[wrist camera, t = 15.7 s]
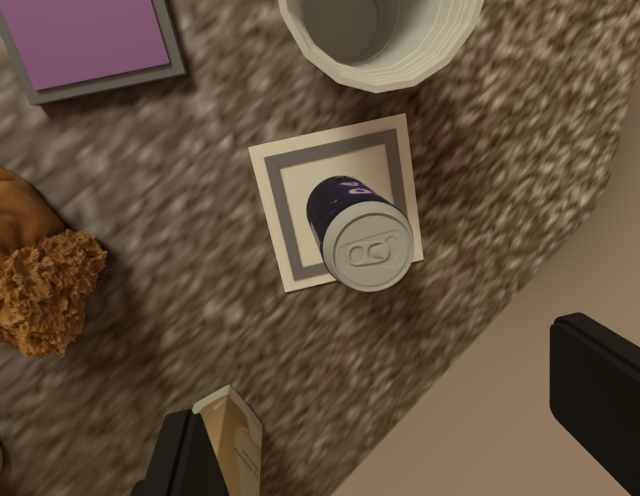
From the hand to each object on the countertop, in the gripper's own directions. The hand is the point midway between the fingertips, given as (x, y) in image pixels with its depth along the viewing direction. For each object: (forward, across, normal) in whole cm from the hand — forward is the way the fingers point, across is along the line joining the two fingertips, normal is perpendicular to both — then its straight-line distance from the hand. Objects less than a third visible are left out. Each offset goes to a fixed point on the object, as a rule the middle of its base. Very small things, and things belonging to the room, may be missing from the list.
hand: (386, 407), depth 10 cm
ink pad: (+25, +12, -17) cm, 33 cm away
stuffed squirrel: (+26, +22, -2) cm, 33 cm away
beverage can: (+25, -3, 0) cm, 25 cm away
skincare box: (+26, +11, +19) cm, 34 cm away
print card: (+25, -4, +1) cm, 25 cm away
